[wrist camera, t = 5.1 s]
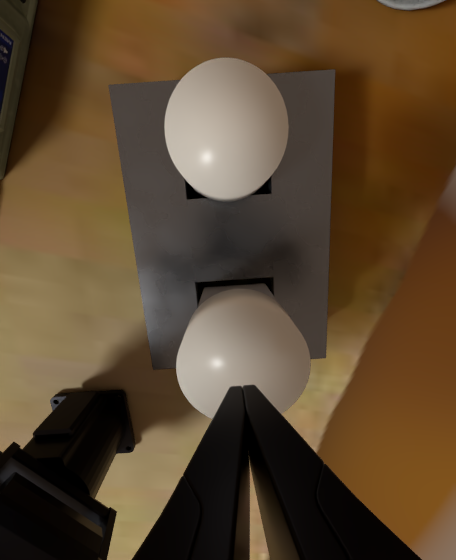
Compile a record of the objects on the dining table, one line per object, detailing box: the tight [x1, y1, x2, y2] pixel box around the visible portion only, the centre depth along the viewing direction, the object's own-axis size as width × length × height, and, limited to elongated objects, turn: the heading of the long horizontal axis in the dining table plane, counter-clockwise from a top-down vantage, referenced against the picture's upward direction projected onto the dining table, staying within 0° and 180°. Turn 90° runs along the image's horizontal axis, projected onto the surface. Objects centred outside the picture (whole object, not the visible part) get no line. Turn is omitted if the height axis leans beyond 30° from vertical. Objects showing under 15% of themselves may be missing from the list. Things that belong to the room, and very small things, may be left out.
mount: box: [109, 69, 335, 370], centre depth 16 cm, size 17×12×4 cm
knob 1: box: [164, 58, 289, 202], centre depth 14 cm, size 6×6×6 cm
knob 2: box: [176, 283, 311, 419], centre depth 13 cm, size 6×6×6 cm
